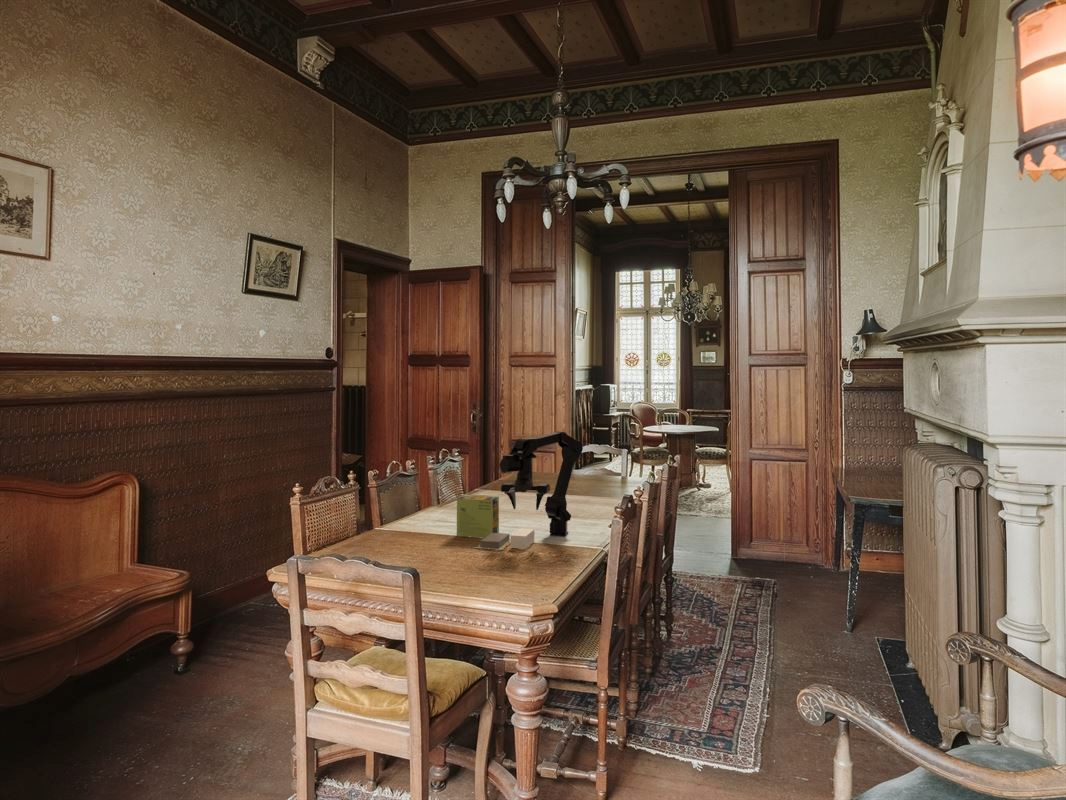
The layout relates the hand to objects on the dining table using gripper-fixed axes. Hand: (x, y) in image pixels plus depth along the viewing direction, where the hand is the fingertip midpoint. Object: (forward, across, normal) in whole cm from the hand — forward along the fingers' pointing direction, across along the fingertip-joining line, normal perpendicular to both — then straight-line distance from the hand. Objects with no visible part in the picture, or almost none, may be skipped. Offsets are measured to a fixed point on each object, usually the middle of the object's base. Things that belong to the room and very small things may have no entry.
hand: (525, 509), depth 263 cm
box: (+12, +1, -7) cm, 14 cm away
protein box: (+12, -22, +4) cm, 26 cm away
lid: (+12, -10, -9) cm, 18 cm away
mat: (+12, -10, -9) cm, 18 cm away
